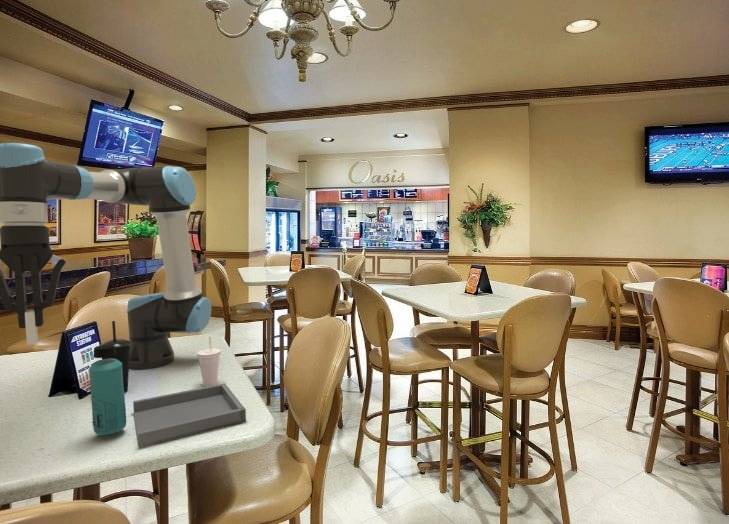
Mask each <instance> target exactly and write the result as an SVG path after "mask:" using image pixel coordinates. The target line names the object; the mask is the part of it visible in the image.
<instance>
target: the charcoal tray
mask: <svg viewBox="0 0 729 524" xmlns="http://www.w3.org/2000/svg"><path fill="white" fill-rule="evenodd" d="M132 403H133V405H132V406H133V417H134V423H135V430H136V437H137V443H138V449H143V448H145V447H147V448H148V447H150V446H154V445H159V444H162V443H167V442H170V441H174V440H178V439H182V438H186V437H191V436H195V435H199V434H203V433H206V432H210V431H214V430H215V429H216V430H220V429H223V427H224V428H227V426H228V427H231V426H235V425H240V424H244V423H247V413H246V408H245V407H244V405H243V404H242V403H241V402H240V400H239V399H238V398H237V397H236V395H235V393H233V391H232V390H231V389H230V387H228V385H227V384H226V383H224V382H223V383H219V384H216V385H213V386H208V387H206V386H204V387H199V388H193V389H188V390H184V391H179V392H174V393H168V394H164V395H158V396H154V397H153V396H152V397H147V398H142V399H137V400H133V401H132Z"/></svg>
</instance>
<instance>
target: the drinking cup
mask: <svg viewBox="0 0 729 524" xmlns="http://www.w3.org/2000/svg"><path fill="white" fill-rule="evenodd" d="M111 325H112V338H113V339H109V340H107V341H104V342H103V343H101V344H99V345H98V346H100V345H107V344H112V345H114V346H115V351H116V354H115V355H114V356H110V357H106V358H101V360H103V359H111V358H112V359H117V360H118V361H120V362H121V363H122V373H123V387H124V394H126V393H127V392H128V391H129V369H130V368H129V350H130V344H131V342H130V341H129V340H127V339H123V338H117V334H116V320H112V321H111Z"/></svg>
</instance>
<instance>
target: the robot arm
mask: <svg viewBox="0 0 729 524" xmlns="http://www.w3.org/2000/svg"><path fill="white" fill-rule="evenodd" d="M196 196H197V189H196V183H195V181H194V179H193V178H192V175H191V174H190V173H189V172H188V171H187V169H185V168H183V167H181V166H170V165H166V166H148V167H146V166H145V167H131V168H124V169H122V168H121V169H104V170H101V171H100V172H99V171H97V172H96V171H89V170H88V169H86V168H85V167H81V166H77V165H75V164H68V163H64V162H63V163H62V162H57V161H52V160H47V159H46V156H45V154H44V150H43V149H42V148H41V147H39V146H37V145H34V144H27V143H21V142H20V143H19V142H5V143H4V142H2V143H0V223H1V224H3V225H2V226H0V298H1V301H2V304H3V307H4V309H5V310H7V311H12V312H16V313H17V319H18V320H17V322H18V327H19V329H25V337H26V339H25V340H26V346H32V345H37V344H38V342H39V335H38V333H39V332H38V327H42V326H43V325H44V321H45V320H44V309H47V308H49V307H51V306H53V305H54V302H55V298H56V295H57V289H58V284H59V280H60V276H61V271H62V269H63V268H64V266H65V265H66V264H67V259H65V258H61V257H59V256H57V255H55V254H54V251H53V250H52V248H51V246H50V231H49V229H50V228H49V227H48V226H47V225H46V224H47V223H49V218H48V217H49V216H48V215H49V213H48V212H49V211H48V200H71V201H72V200H73V201H74V200H101V201H103V202H105V203H111V204H113V203H114V204H125V205H133V206H145V207H147V206H148V207H149V212H150V214H151V215H153V216H154V217H155V218H156V222H157V230H158V236H159V241H160V249H161V255H162V260H163V267H164V274H165V279H166V285H167V291H166V292H156V293H151V294H150V293H149V294H143V295H139V296H134V297H132V298H129V300H128V301H127V308H126V313H127V322H128V323H127V325H128V327H127V328H128V338H129V339H128V341H130V342H131V344H130V350H129V369H131V370H145V369H153V368H159V367H162V366H167V365H168V363H169V364H171V363H172V362H174V361H175V351H174V348H173V346H172V345H171V341H170V340H169V337H168V336H169V335H168V334H169V333H177V334H195V333H201V332H202V331H204V330H205V329H206V328H207V326H208V324H209V322H210V319H211V317H212V303H211V301H210V299H209V298H208V297H205V296H203V291H202V289H201V288H200V287H197V284H196V283H197V282H196V275H195V269H194V262H193V261H194V260H193V254H192V248H191V241H190V233H189V226H188V219H187V214H188V213H190V211H191V205H192V204H194V203H195V200H196ZM50 261H51V266H52V267H53V268H52V272H51V275H50V278H49V279H50V280H49V284H48V288H47V292H46V297H45V301H44V300H43V290H42V289H43V287H42V270H43V269H44V268H45V267H46V265H47V264H48V263H49V262H50ZM2 263H3V264H4V265H5V266H7V268H9V269H10V271H12V272H13V277H14V285H15V301H14V298H13V295H12V293H11V291H10V287H9V286H8V282H7V281H6V278H5V276H4V272H3V271H2V268H3V264H2ZM26 272H28V273H30V277H31V288H32V290H31V292H32V302H33V303H32V304H33V308H32V309H30V310H27V309H28V305H27V304H28V303H27V291H26V290H27V289H26V278H25V277H26ZM15 302H16V303H15ZM173 360H174V361H173ZM170 362H171V363H170Z"/></svg>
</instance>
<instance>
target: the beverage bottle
mask: <svg viewBox="0 0 729 524" xmlns="http://www.w3.org/2000/svg"><path fill="white" fill-rule="evenodd" d="M99 345H100V346H99ZM99 345H96V346H95V347H94V348H93V358H95V359H99V360H97V361H95V362H93V363H92V364H91V365H90V367H89V368H88V372H89V386H90V388H89V389H90V391H89V392H90V393H89V394H90V398H91V399H90V400H91V416H92V421H91V424H92V429H93V432H94V434H95V435H100V436H103V435H104V436H105V435H111V434H114V433H117V432H120V431H122V430H124V428H125V427H126V425H127V420H128V419H127V417H128V416H127V408H126V398H125V393H124V387H123V373H122V363H121V362H120V361H118V360H117V359H112V358H111V359H103V360H102V358H106V357H110V356H114V355H115V354H116V351H115V346H114V345H112V344H107V345H101V344H99Z"/></svg>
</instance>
